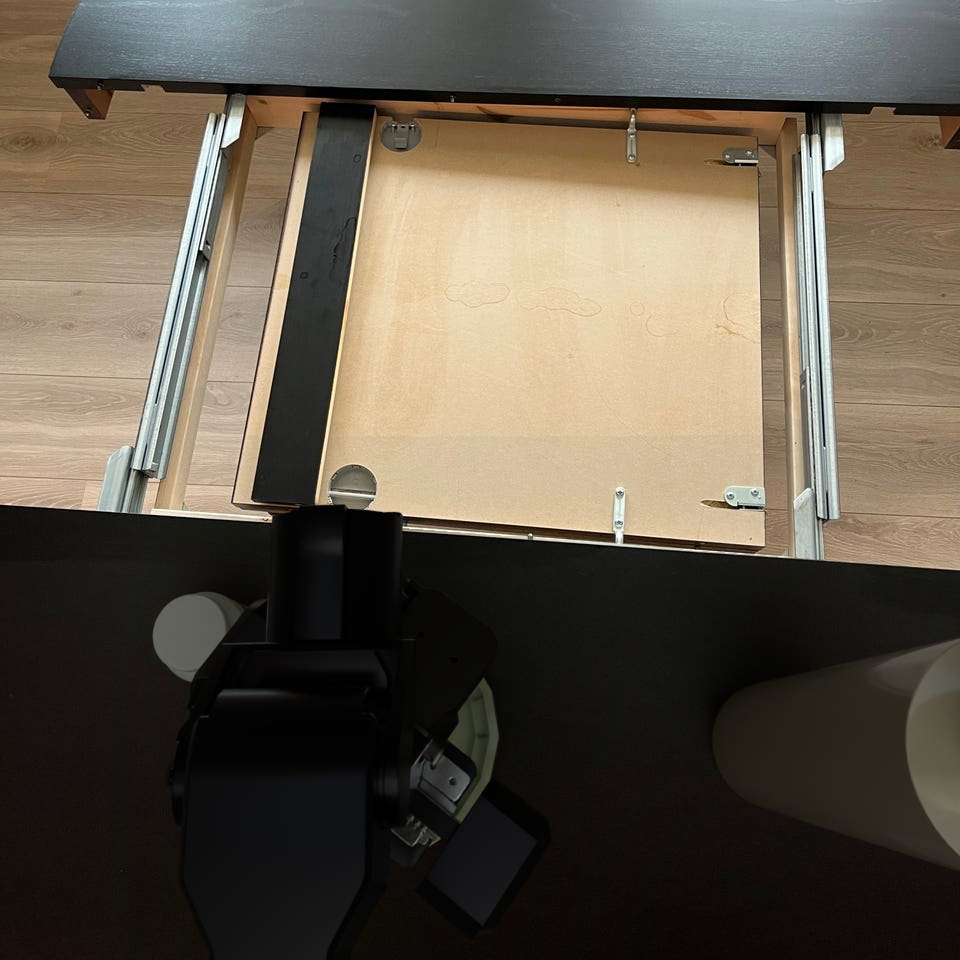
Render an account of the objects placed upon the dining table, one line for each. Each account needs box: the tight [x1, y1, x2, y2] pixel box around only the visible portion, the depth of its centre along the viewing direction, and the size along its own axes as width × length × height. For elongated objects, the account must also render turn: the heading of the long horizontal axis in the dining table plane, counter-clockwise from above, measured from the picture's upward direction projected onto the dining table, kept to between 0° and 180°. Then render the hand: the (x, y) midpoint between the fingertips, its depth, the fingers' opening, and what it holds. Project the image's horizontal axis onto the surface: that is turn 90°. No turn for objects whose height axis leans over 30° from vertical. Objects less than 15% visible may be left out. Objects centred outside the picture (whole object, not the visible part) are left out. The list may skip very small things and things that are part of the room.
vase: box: [711, 636, 960, 873], centre depth 50 cm, size 8×8×46 cm
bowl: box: [422, 676, 502, 848], centre depth 70 cm, size 14×14×5 cm
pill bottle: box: [152, 591, 249, 683], centre depth 71 cm, size 6×6×10 cm
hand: (388, 754), depth 60 cm, fingers closed on stick, 2 cm apart
